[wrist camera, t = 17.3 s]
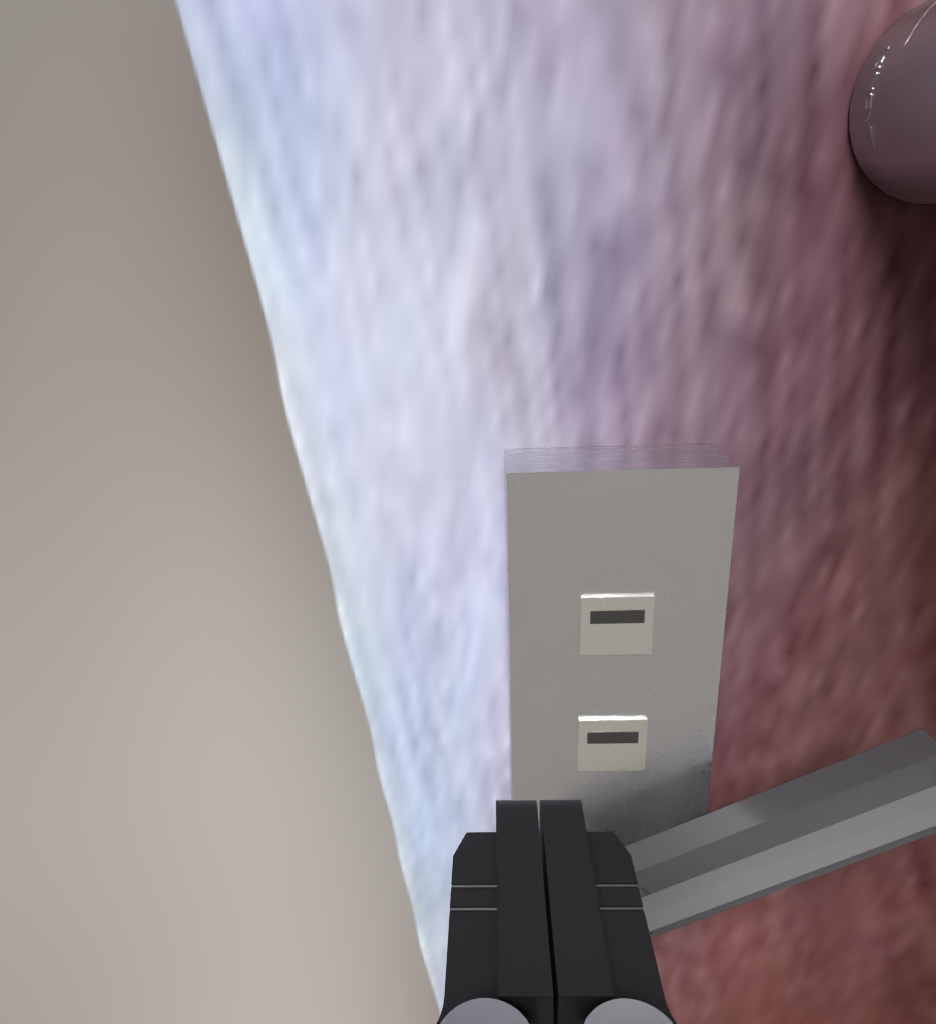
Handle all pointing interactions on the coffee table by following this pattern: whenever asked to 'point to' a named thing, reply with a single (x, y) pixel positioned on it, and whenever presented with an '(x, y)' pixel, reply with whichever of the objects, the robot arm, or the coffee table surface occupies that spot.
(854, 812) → the bar
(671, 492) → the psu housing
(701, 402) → the coffee table surface
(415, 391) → the coffee table surface
